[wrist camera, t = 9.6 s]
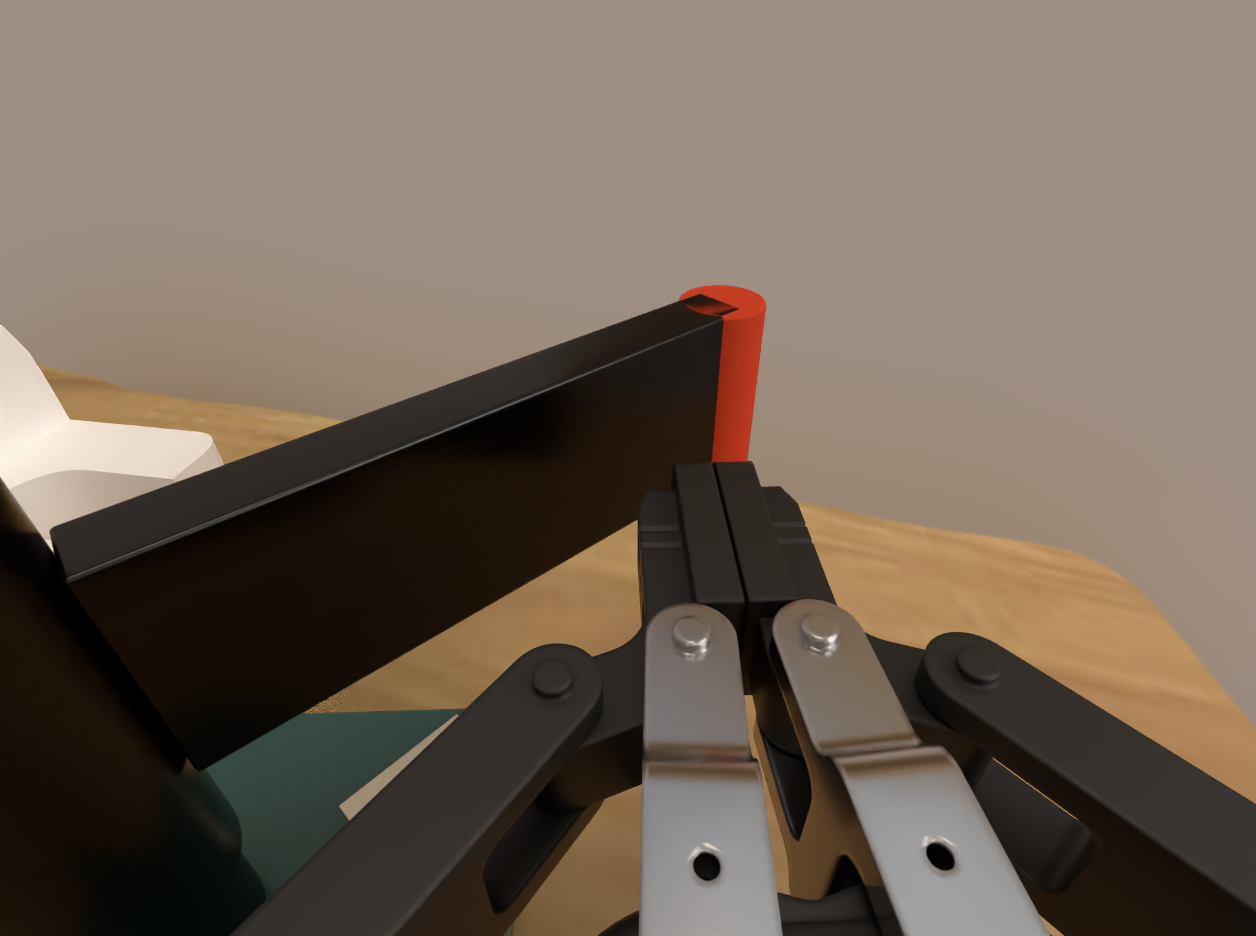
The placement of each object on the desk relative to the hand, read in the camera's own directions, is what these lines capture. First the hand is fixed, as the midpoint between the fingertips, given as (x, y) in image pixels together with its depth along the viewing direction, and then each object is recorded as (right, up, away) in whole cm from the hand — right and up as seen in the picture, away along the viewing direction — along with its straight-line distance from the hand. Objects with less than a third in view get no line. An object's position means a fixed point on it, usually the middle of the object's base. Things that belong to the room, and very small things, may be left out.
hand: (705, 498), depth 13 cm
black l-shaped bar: (-5, -4, +2) cm, 7 cm away
